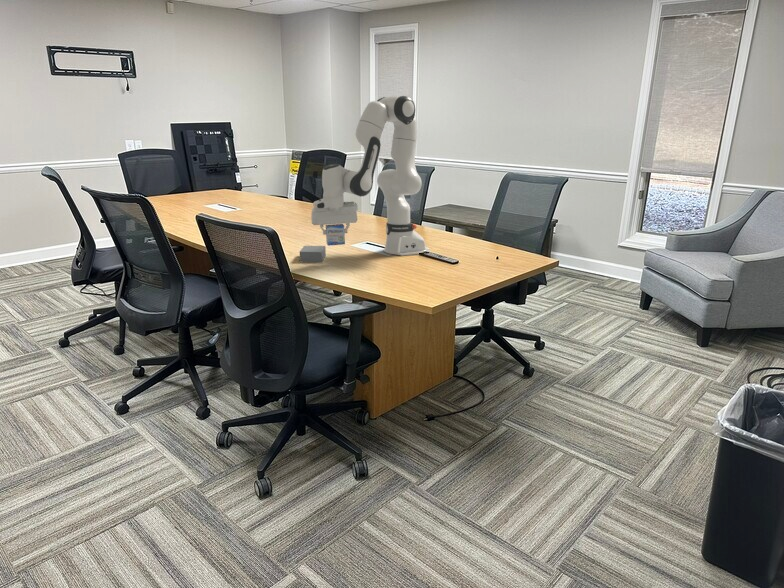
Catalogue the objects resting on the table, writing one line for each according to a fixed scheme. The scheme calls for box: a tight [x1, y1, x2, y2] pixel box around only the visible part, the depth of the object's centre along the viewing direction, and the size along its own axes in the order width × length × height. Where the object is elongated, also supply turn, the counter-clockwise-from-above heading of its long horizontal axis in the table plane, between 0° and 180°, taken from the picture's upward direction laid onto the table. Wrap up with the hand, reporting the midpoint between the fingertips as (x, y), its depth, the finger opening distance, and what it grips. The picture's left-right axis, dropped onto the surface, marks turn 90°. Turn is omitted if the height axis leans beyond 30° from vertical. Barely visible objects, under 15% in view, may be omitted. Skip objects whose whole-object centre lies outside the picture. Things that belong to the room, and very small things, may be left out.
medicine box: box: [325, 223, 346, 247], centre depth 242 cm, size 8×4×9 cm, turn 102°
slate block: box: [299, 245, 327, 263], centre depth 253 cm, size 10×12×5 cm
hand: (335, 233), depth 242 cm, fingers closed on medicine box, 8 cm apart
